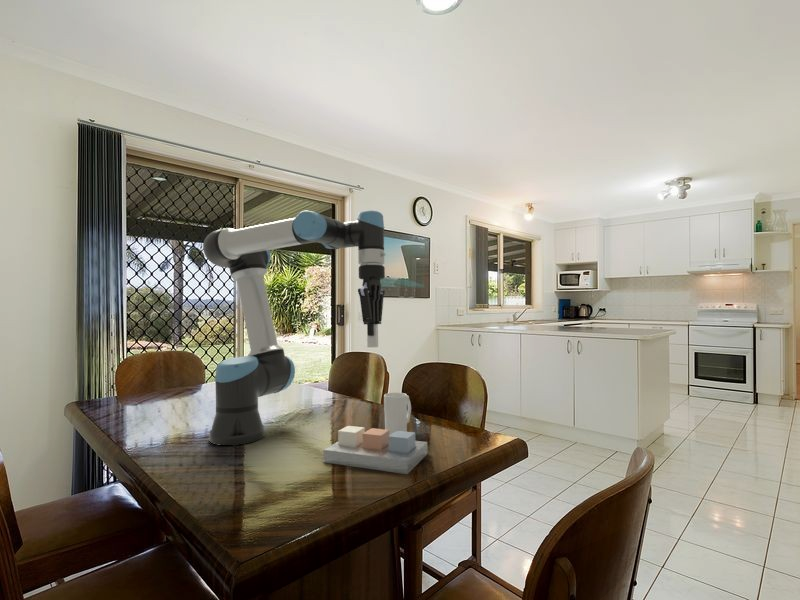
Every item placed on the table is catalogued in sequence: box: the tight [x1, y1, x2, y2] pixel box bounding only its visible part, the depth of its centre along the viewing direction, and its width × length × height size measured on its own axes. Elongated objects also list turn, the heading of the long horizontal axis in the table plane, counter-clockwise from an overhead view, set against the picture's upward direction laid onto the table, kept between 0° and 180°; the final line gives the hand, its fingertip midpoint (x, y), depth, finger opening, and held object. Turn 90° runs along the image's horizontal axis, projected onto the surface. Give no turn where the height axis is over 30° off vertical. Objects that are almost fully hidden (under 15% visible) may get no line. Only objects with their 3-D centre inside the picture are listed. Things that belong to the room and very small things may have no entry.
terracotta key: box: [363, 427, 389, 451], centre depth 102 cm, size 5×5×5 cm
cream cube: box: [337, 425, 366, 447], centre depth 104 cm, size 5×5×5 cm
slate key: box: [389, 431, 416, 454], centre depth 99 cm, size 5×5×5 cm
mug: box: [383, 392, 412, 436], centre depth 121 cm, size 10×7×12 cm, turn 137°
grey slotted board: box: [322, 440, 428, 475], centre depth 101 cm, size 22×14×3 cm, turn 68°
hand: (372, 347), depth 117 cm, fingers closed
